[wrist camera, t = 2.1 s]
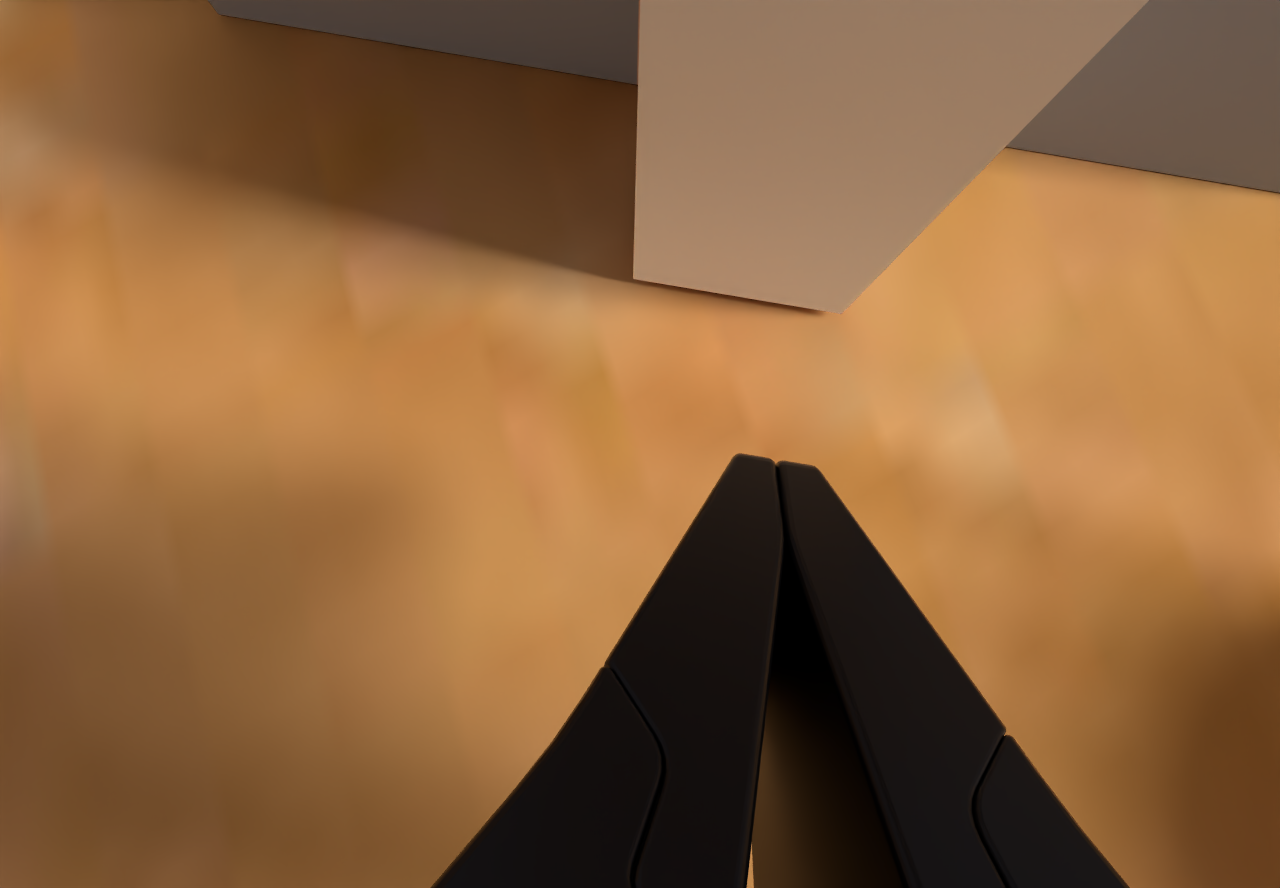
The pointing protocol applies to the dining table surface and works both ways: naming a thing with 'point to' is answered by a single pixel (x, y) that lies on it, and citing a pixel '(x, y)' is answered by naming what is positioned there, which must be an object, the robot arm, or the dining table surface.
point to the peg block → (831, 129)
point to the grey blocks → (1067, 126)
